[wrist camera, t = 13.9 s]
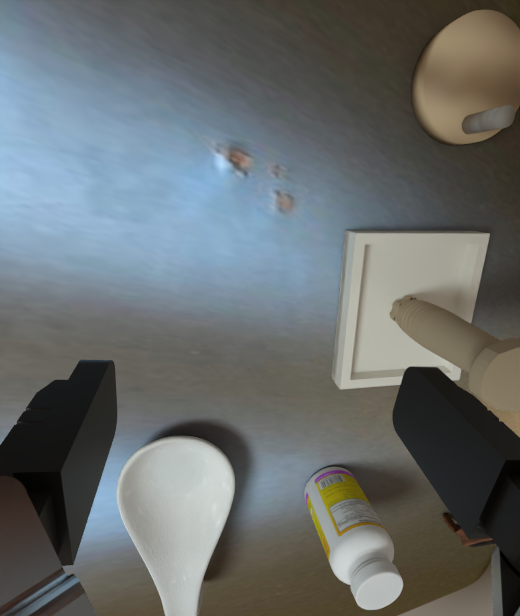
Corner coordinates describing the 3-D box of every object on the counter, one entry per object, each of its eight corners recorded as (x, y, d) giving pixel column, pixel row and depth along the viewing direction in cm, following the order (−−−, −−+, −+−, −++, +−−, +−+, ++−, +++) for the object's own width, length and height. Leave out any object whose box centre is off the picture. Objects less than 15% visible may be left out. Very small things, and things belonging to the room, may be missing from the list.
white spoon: (116, 425, 38) (101, 475, 31) (230, 413, 40) (239, 458, 33) (138, 589, 45) (129, 659, 39) (233, 572, 47) (241, 636, 41)
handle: (380, 283, 37) (496, 342, 23) (436, 291, 39) (576, 350, 25) (368, 328, 39) (471, 409, 25) (422, 334, 40) (548, 413, 26)
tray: (344, 230, 36) (356, 233, 34) (471, 230, 38) (490, 233, 36) (331, 377, 41) (340, 389, 38) (444, 369, 43) (459, 379, 41)
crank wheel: (420, 13, 31) (472, -24, 26) (521, 26, 33) (590, -7, 27) (403, 142, 34) (446, 134, 29) (497, 147, 36) (553, 140, 31)
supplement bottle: (333, 513, 47) (383, 625, 35) (292, 497, 45) (330, 610, 33) (364, 474, 46) (427, 575, 34) (323, 455, 44) (375, 556, 32)
